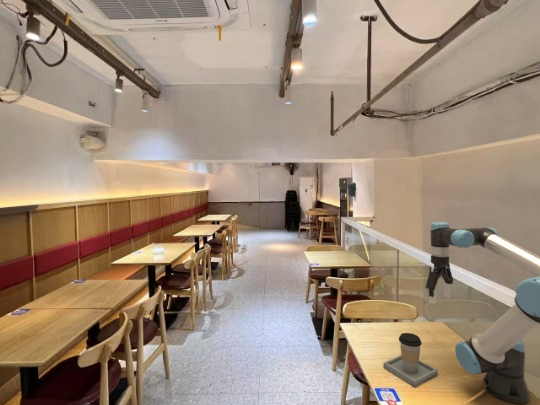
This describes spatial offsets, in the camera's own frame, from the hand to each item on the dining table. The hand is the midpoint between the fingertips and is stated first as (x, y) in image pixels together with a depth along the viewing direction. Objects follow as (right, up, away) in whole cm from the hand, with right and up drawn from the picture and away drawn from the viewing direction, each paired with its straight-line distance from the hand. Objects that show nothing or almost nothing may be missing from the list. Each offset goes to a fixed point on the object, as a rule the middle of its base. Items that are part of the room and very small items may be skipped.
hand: (440, 300), depth 140 cm
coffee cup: (-17, -30, -5) cm, 35 cm away
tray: (-17, -31, -5) cm, 35 cm away
